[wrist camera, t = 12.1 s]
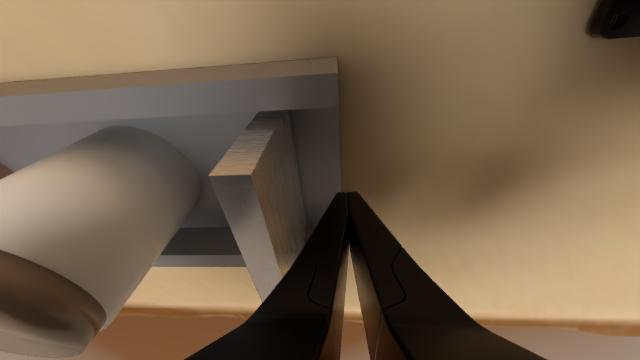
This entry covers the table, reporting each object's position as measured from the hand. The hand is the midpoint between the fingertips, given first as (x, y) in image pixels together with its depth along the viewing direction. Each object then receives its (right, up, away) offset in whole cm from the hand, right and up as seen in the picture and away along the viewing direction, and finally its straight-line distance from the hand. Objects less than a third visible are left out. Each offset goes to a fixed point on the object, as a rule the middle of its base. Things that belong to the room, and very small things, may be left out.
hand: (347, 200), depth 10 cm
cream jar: (-10, +1, +2) cm, 10 cm away
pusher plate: (-3, +1, +2) cm, 3 cm away
